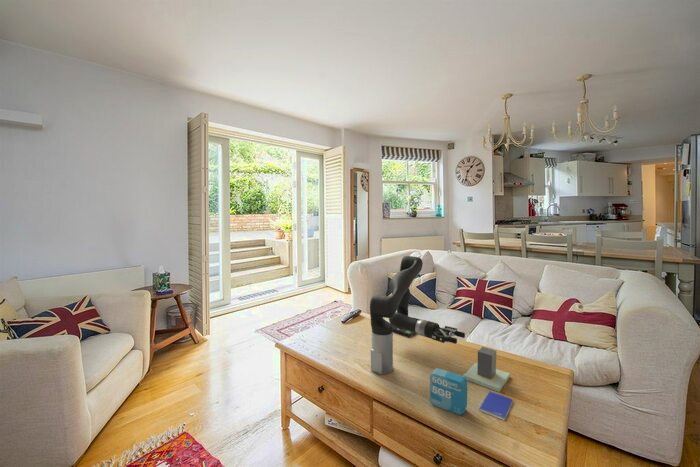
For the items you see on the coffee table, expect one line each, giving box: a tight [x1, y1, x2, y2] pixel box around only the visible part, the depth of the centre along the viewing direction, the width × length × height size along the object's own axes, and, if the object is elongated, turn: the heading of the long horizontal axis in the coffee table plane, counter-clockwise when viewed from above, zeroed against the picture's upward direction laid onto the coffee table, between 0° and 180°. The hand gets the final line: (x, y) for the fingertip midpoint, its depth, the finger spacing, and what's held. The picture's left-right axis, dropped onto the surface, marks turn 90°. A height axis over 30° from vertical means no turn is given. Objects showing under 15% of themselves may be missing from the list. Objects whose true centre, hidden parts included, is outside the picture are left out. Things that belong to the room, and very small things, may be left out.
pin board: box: [462, 361, 511, 393], centre depth 125 cm, size 14×14×4 cm
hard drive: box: [478, 391, 514, 421], centre depth 107 cm, size 2×8×12 cm
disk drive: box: [392, 326, 416, 339], centre depth 174 cm, size 10×3×15 cm
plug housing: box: [477, 346, 497, 379], centre depth 125 cm, size 6×6×10 cm
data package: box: [429, 368, 468, 416], centre depth 107 cm, size 12×4×12 cm, turn 54°
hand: (460, 338), depth 131 cm, fingers open, 8 cm apart
